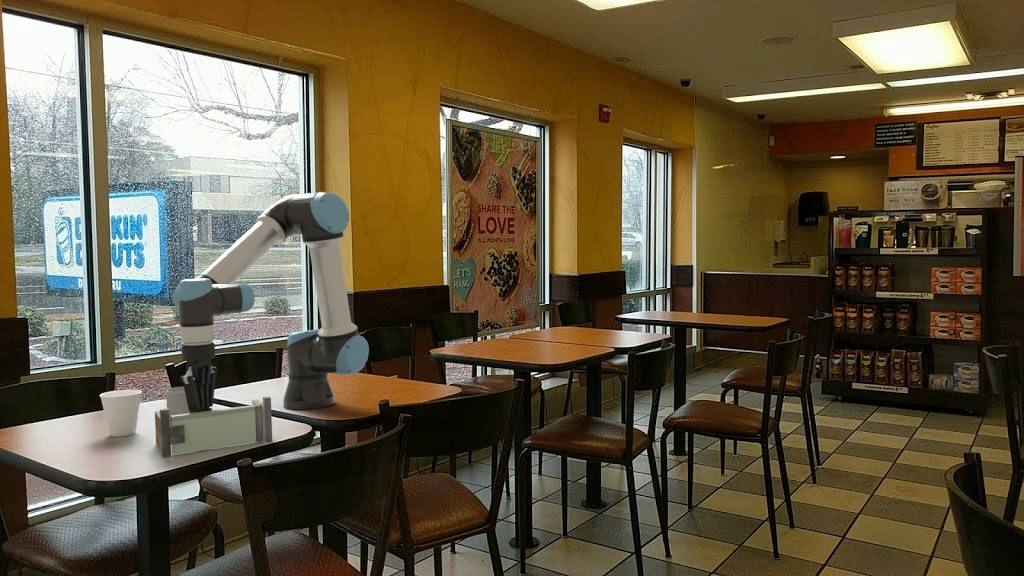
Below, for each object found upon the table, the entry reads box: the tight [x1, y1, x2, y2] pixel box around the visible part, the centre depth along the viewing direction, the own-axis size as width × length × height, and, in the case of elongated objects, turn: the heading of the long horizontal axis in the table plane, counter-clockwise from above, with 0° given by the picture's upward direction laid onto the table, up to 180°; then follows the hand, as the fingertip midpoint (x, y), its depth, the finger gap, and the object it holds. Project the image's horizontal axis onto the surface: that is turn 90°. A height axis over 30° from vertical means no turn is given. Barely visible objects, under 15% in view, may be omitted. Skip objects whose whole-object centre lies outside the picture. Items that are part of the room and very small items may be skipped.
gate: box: [171, 404, 264, 456], centre depth 182 cm, size 21×2×9 cm, turn 123°
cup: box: [99, 389, 143, 438], centre depth 198 cm, size 10×10×11 cm
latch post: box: [154, 407, 185, 458], centre depth 181 cm, size 5×15×11 cm, turn 32°
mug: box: [165, 386, 191, 427], centre depth 204 cm, size 12×8×11 cm
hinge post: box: [251, 396, 273, 443], centre depth 194 cm, size 2×14×11 cm, turn 32°
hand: (202, 438), depth 184 cm, fingers closed
